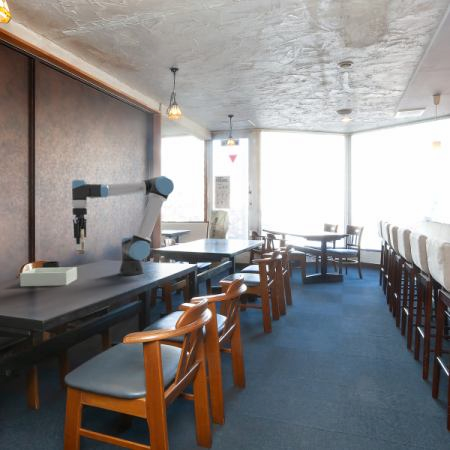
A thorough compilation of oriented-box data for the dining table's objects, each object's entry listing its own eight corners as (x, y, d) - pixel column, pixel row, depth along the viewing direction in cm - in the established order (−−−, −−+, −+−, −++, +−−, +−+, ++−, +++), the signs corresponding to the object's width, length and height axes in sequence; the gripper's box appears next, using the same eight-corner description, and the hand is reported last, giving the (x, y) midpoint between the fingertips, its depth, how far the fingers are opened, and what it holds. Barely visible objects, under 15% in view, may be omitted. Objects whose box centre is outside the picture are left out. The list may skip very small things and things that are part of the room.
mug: (55, 279, 220) (55, 263, 220) (38, 278, 223) (38, 263, 222) (66, 276, 229) (65, 261, 229) (49, 275, 232) (49, 261, 232)
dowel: (85, 253, 210) (85, 228, 210) (82, 254, 206) (82, 229, 206) (78, 253, 210) (78, 229, 210) (75, 254, 206) (75, 229, 206)
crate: (77, 278, 219) (76, 267, 219) (66, 285, 201) (66, 272, 201) (35, 279, 217) (34, 268, 217) (20, 286, 200) (20, 273, 199)
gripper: (79, 207, 216) (80, 247, 217) (66, 207, 199) (67, 251, 200) (92, 207, 216) (92, 247, 217) (80, 207, 199) (81, 251, 200)
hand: (80, 249), depth 208 cm, fingers closed on dowel, 4 cm apart
